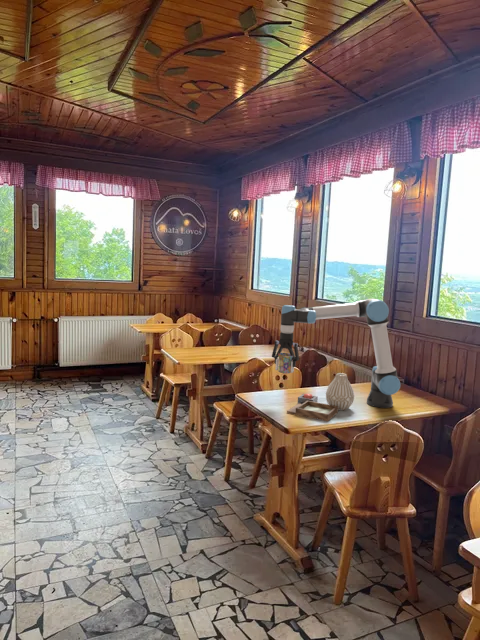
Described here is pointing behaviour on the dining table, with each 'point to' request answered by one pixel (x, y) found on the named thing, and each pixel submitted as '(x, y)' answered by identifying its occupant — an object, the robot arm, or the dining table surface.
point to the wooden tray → (314, 410)
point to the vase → (340, 392)
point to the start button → (308, 396)
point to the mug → (284, 363)
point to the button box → (306, 399)
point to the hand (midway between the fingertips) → (284, 371)
